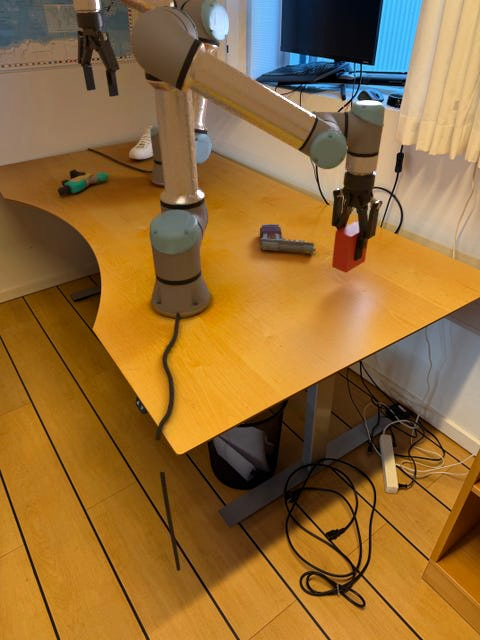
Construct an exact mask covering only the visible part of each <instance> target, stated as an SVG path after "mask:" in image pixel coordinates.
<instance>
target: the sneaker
mask: <svg viewBox="0 0 480 640" xmlns="http://www.w3.org/2000/svg"><path fill="white" fill-rule="evenodd" d="M152 126H153V125H149V126H147V127H146V129H145V130H144V131H143V133H142V135H141V136H140V138H139V140H138V142H137V143H136V144H135V146H133V148H131V149H130V151H129V152H128V156H129V157H128V158H129V159H132V160H138V161H139V160H147V159H150V158H153V151H152V144H151V137H150V136H151V134H150V129H151V127H152Z"/></svg>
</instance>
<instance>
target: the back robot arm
mask: <svg viewBox="0 0 480 640" xmlns="http://www.w3.org/2000/svg"><path fill="white" fill-rule="evenodd" d="M116 1H117V2H120V3H121V4H123V5H126V6H128V7H129V8H132V9H134V10H136V11H137V12H140V13H141V14H143V13H145V12H147V11H149V10H153V9H156V8H158V7H161V6H171V7H176V8H178V9H180V10H182V11H184V12H185V13H186V14H187V15H188V16H189V17H190V18H191V19H192V21H193V23H194V24H195V27H196V30H197V33H198V40H199V41H201V42H202V43H204V46H205V49H206V51H207V52H208V53H210V54H211V55H213V56H215V53H216V52H217V51H218V50H220V43H221V42H222V41H224V40H225V39H226V37H227V36H228V33H229V29H230V19H229V15H228V13H227V10H226V8H225V7H224V5H223V4H222V3H220V2H219V1H216V0H116ZM72 3H73V8H74V11H76V13H75V17H76V23H77V28H79V29H78V30H77V31H76V32H77V64H78V65H80V66H81V68H82V70H83V77H84V82H85V87H86V91H88V92H89V91H95V90H96V83H95V77H94V71H93V64H92V58H93V53H94V51H95V52H96V53H97V54H98V56H99V58H100V60H101V62H102V64H103V65H104V68H105V78H106V83H107V89H108V95H109V97H110V98H112V97H117V96H120V95H119V88H118V81H117V75H116V72H117V71H119V70H120V65H119V62H118V60H117V57H116V55H115V51H114V49H113V46H112V43H111V40H110V36H109V32H105V31H104V32H102V28H105V20H104V14H103V12H102V11H101V10H102V9H103V8H102V0H72ZM208 101H209V100H208V99H206V98H204V97H202V96H201V95H199V94H197V93H195V92H193V91H192V105H193V119H194V134H195V149H196V164H197V166H200V165H202V164H204V163H205V162H206V161H207V160H208V159H209V157H210V155H211V152H212V147H213V145H212V141H211V138H210V137H209V136H208V130H209V129H208V128H207V126H206V123H205V122H206V115H207V107H208ZM151 126H152V127H151V129H150V134H151V136H150V137H151V144H152V151H153V156H152V158H153V167H152V170H146V169H142V168H138V167H136V166H133V165H130V164H126V163H124V162H122V161H121V160H118V159H115V158H113V157H111V156H109V155H107V154H105V153H103V152H101V151H98V150H96V149H94V148H90V147H88V148H87V150H88V151H91V152H94V153H97V154H99V155H102V156H104V157H106V158H108V159H110V160H112V161H114V162H116V163H118V164H121V165H122V166H124V167H125V166H126V167H128V168H131V169H132V170H136V171H139V172H143V173H150V174H151V177H150V179H151V180H150V181H151V184H152V185H153V186H155V187H158V188H164V179H163V170H162V161H161V152H160V143H159V133H158V124H157V123H156V124H154V125H151Z"/></svg>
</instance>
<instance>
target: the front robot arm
mask: <svg viewBox="0 0 480 640" xmlns="http://www.w3.org/2000/svg"><path fill="white" fill-rule="evenodd" d="M130 47H131V51H132V55H133V57H134V59H135V61H136V62H137V64H138V65H139V66H140V67H141V68H142V70H144V77H145V81H146V82H147V83H148V84H149V85H150V86H151V87H152V89H153V96H154V97H153V98H154V105H155V115H156V122H157V123H156V124H158V133H159V143H160V152H161V161H162V170H163V179H164V187H163V188H164V189H163V190H162V192H161V193H160V194H159V203H160V204H159V206H160V213H161V214H159V213H158V214H157V215H156V216H154V218H152V219H151V221H150V222H149V223H150V224H149V234H148V235H149V236H148V237H149V241H150V245H151V253H152V260H153V261H152V262H153V268H154V274H155V275H154V276H155V281H154V284H153V290H152V294H151V305H152V308H153V310H154V311H155V312H156V313H157V314H159V315H160V316H163V317H167V318H171V319H175V321H174V328H173V330H174V331H173V334H172V335H173V336H172V337H171V340H170V341H169V343H168V345H167V346H166V348H165V349H164V351H163V354H162V367H163V369H164V371H165V374H166V376H167V381H168V390H169V391H168V392H169V398H168V405H167V409H166V413H165V414H164V416H163V417H162V419H161V420H160V422H159V423H158V427H157V429H156V433H155V441H156V442H159V441H160V440H161V438H162V432H163V428H164V426H165V424H167V421H168V420H169V418H170V417H171V414H172V413H173V408H174V402H175V388H174V387H175V386H174V378H173V375H172V372H171V370H170V368H169V365H168V355H169V352H170V350H171V349H172V347H174V344H175V342H176V340H177V337H178V335H179V326H180V325H179V324H180V319H183V318H185V319H186V318H190V317H194V316H196V315H199V314H201V313H202V312H204V311H205V310H207V308H208V307H209V306H210V303H211V294H210V293H211V292H210V290H209V288H208V286H207V284H206V281H205V278H204V277H203V275H202V262H201V261H202V259H201V246H202V242H203V240H204V239H203V238H204V235H205V232H206V229H207V227H208V224H209V211H208V207H207V204H206V198H205V192H204V190H202V189H201V188H200V187H199V181H198V167H197V166H198V165H197V164H196V149H195V134H194V119H193V105H192V91H193V92H195V93H197V94H199V95H201V96H202V97H204V98H206V99H208V101H209V102H211V103H213V104H215V105H216V106H218V107H220V108H222V109H224V110H225V111H228V112H229V113H231V114H233V115H235V116H236V117H238V118H240V119H242V121H245V122H247V123H249V124H251V125H252V126H254V127H256V128H258V130H259V129H260V130H261V131H263V132H265V133H267V134H268V135H270V136H272V137H274V138H275V139H278V140H279V141H281V142H283V143H284V144H285V145H288V146H290V147H291V148H294V149H295V150H297V151H299V152H300V153H301V154H304V155H305V156H307V157H309V158H310V160H311V161H312V162H313V164H314V165H315V166H316V167H318V168H320V169H322V170H333V169H335V168H337V167H338V166H340V165H341V164H342V163H343V162H344V160H345V164H344V169H345V171H344V174H343V182H342V184H343V187H339V188H336V189H334V190H333V191H332V196H333V197H332V198H333V205H332V213H331V214H332V215H331V226H332V227H335V228H336V231H337V230H339V229H341V228H343V227H345V226H347V225H348V221H349V219H350V216H351V213H352V211H353V208H354V209H355V210H356V211H355V212H356V214H357V220H358V221H357V222H358V223H359V235H360V237H358V238H357V240H356V247H355V254H354V260H355V261H357V260H359V259H360V258H362V253H363V249H365V248H366V244H367V239H368V240H370V239H372V238H373V237H375V236H376V233H377V226H378V220H379V214H380V209H381V207H382V205H383V200H381V199H379V200H377V198H375V196H374V193H373V192H374V191H373V190H374V187H375V182H376V176H377V173H376V171H377V168H378V161H379V155H380V148H381V142H382V135H383V129H384V126H385V124H384V122H385V112H386V111H385V110H386V109H385V108H386V107H385V105H384V104H383V103H382V102H380V101H377V100H366V99H365V100H364V99H363V100H356V101H354V102H353V103H352V104H351V108H350V110H348V111H316V110H314V111H309V110H307V109H305V108H303V107H301V106H300V105H298V104H296V103H295V102H293V101H291V100H290V99H288V98H286V97H284V95H283V96H282V95H281V94H279V93H277V91H274V90H273V89H271V88H269V87H268V86H266V85H264V84H263V83H261V82H259V81H258V80H255V79H254V78H253V77H251V76H249V75H247V74H246V73H244V72H242V71H241V70H239V69H237V68H235V67H234V66H232V65H230V64H229V63H227V62H225V61H223V60H222V59H220V58H218V57H217V56H215V55H214V56H213V55H211V54H210V53H208V52H207V51H206V49H205V46H204V43H202V42H201V41H199V40H198V33H197V30H196V27H195V24H194V23H193V21H192V19H191V18H190V17H189V16H188V15H187V14H186V13H185V12H184V11H182V10H180V9H178V8H176V7H171V6H161V7H158V8H156V9H153V10H149V11H147V12H145V13H141V15H140V16H138V18H137V19H136V20H135V22H134V24H133V26H132V29H131V32H130ZM369 204H370V205H369ZM368 211H369V213H368ZM367 245H368V244H367ZM159 477H160V483H161V490H162V497H163V504H164V509H165V514H166V520H167V525H168V532H169V536H170V540H171V545H172V551H173V556H174V562H175V568H176V571H177V572H179V571H181V563H180V558H179V551H178V546H177V540H176V534H175V529H174V524H173V518H172V512H171V506H170V501H169V493H168V487H167V479H166V473H165V471H159Z"/></svg>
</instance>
